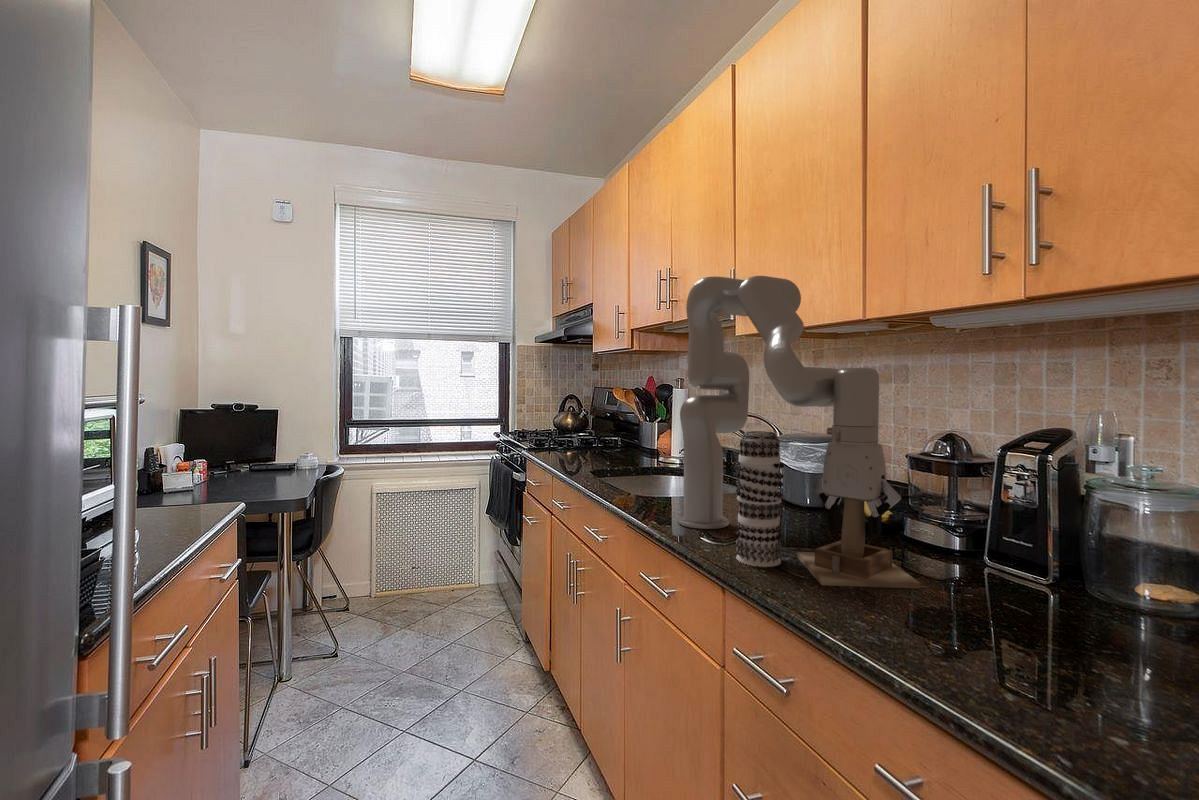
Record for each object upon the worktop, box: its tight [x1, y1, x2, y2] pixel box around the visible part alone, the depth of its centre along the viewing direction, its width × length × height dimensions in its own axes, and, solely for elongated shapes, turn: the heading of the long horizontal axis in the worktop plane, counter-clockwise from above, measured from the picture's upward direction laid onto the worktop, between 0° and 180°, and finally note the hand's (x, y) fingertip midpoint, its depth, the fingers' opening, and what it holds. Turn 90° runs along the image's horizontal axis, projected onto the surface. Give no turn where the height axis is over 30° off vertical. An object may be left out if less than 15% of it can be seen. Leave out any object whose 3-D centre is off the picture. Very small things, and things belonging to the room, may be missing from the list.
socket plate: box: [796, 539, 921, 590], centre depth 103 cm, size 16×16×4 cm
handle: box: [840, 498, 866, 558], centre depth 103 cm, size 5×6×15 cm
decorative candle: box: [734, 430, 785, 568], centre depth 109 cm, size 9×9×25 cm
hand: (853, 532), depth 103 cm, fingers open, 6 cm apart
